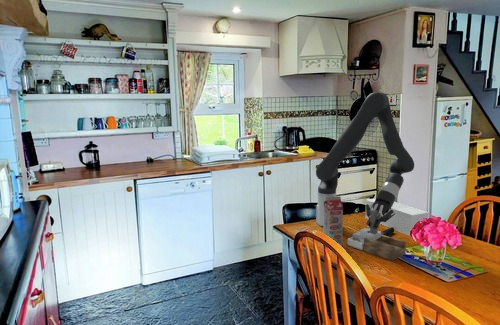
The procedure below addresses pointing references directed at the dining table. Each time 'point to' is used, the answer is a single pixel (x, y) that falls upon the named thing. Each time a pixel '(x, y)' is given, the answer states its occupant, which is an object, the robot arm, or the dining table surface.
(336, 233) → the juice carton
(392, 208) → the long white block
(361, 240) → the steel block
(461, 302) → the dining table surface
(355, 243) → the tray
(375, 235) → the scraper
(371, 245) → the wooden box
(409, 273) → the dining table surface
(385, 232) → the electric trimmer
